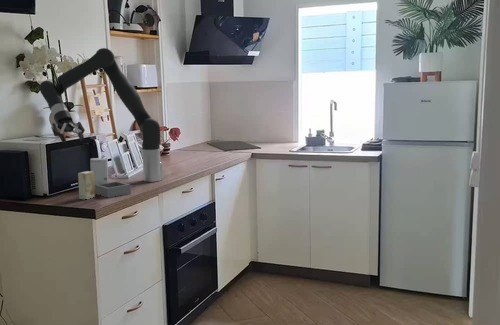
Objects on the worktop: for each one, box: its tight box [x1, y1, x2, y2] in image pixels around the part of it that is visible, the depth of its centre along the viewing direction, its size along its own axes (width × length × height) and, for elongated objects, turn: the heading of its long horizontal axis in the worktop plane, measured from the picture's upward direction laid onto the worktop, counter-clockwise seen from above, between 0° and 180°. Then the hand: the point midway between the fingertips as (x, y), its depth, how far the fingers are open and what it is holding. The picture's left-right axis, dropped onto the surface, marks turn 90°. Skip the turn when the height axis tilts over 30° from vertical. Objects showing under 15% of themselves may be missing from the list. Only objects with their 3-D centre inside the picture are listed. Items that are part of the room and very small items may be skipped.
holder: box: [95, 180, 132, 199], centre depth 239 cm, size 12×12×4 cm
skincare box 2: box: [89, 157, 109, 185], centre depth 254 cm, size 8×6×15 cm
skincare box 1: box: [77, 170, 96, 200], centre depth 230 cm, size 6×4×12 cm
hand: (73, 140), depth 234 cm, fingers open, 8 cm apart
